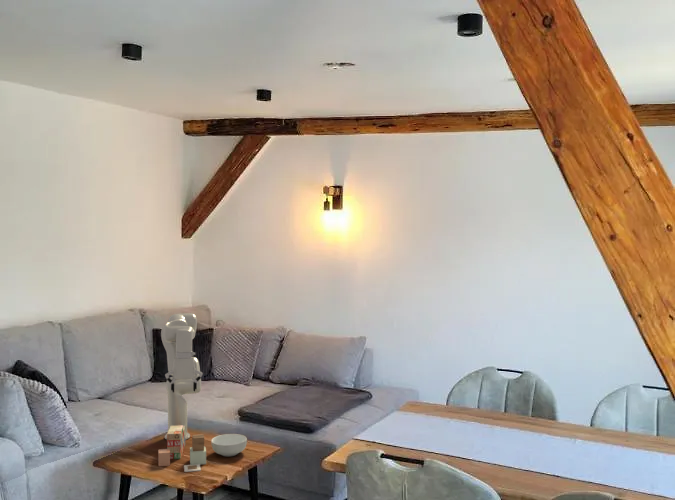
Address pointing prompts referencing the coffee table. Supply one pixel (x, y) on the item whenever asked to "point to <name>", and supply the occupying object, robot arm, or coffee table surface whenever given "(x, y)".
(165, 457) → the terracotta block
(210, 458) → the coffee table surface
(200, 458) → the sage base block
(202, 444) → the walnut block
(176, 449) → the stack of blocks
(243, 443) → the cereal bowl
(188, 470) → the tile
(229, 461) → the coffee table surface
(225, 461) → the coffee table surface
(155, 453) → the coffee table surface
